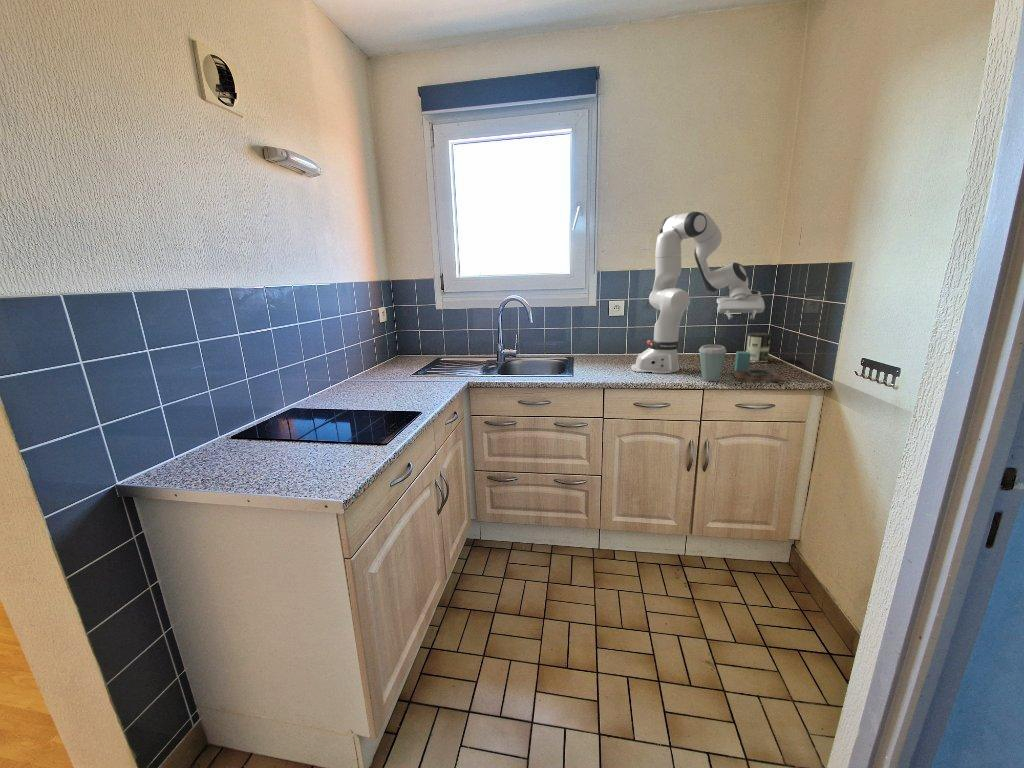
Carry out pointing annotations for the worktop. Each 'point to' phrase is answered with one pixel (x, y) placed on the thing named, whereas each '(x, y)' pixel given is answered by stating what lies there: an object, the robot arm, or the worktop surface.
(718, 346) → the disposable coffee cup
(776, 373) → the base board
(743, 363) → the pillar
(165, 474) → the worktop surface
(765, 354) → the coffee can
